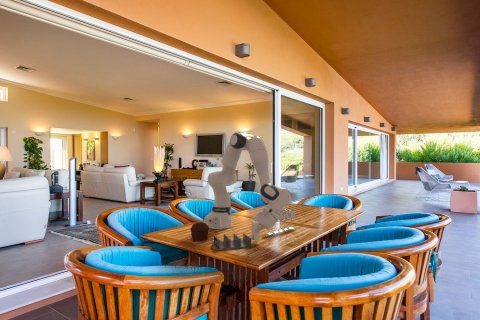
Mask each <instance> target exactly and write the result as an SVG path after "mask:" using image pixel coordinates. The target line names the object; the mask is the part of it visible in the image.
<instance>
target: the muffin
mask: <svg viewBox="0 0 480 320" xmlns="http://www.w3.org/2000/svg"><path fill="white" fill-rule="evenodd" d="M189 230H190V233H191V239H192V240H191V241H193V242H205V241H207V240H208V237H209V231H210V228H209V227H208V225H207V224H205V223H204V221H198V222H197V221H196V222H195V223H193V224H192V225H191V227H190V229H189Z"/></svg>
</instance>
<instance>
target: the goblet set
mask: <svg viewBox="0 0 480 320" xmlns="http://www.w3.org/2000/svg"><path fill="white" fill-rule="evenodd" d="M279 216H280V220H279V226H280V228H279V229H277V231H276V230H272V231H268V232H265V234H266V235H273V233H274V234H277V233H279V232H284V231H287V230H289V229H290V230H292V229H295V227H294V226H289V227H285V228H283V229H282V228H281V226H282V225H281V224H282V220H283V218H284V221H285V223H287V219H289V220H290V223H292V221H293V219H294V218H295V217H296V211H295V210H293V209H283V210H282V211H281V213H280V214H279ZM276 224H277V222H276V223H275V225H276Z"/></svg>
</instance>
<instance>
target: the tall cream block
mask: <svg viewBox="0 0 480 320" xmlns="http://www.w3.org/2000/svg"><path fill="white" fill-rule="evenodd" d="M259 227H260V223H259V222H257V221H254V220H252V221H251V236H250V237H251V241H253V242H259V241H260V233H261V231H259V233H257V232H256V231H255V230H256V229H257V228H259Z"/></svg>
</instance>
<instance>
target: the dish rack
mask: <svg viewBox="0 0 480 320" xmlns="http://www.w3.org/2000/svg"><path fill="white" fill-rule="evenodd" d="M232 235H233V239H231V238H229V236H228V235H227V234H225V233H224V234H223V240H220V238H218V236H216V235H215V234H213V241H212V245H213V246H214V247H215V248H216V250H217V251H218V252H219V251H221V252H222V251H228V250H229V251H230V250H240V249H241V250H242V249H252V248H253V245H252V239H251V236H249V235H248V234H246V233H245V232H243V233H242V238H241V237H240V236H238V235H237V234H236V233H233V234H232Z"/></svg>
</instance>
